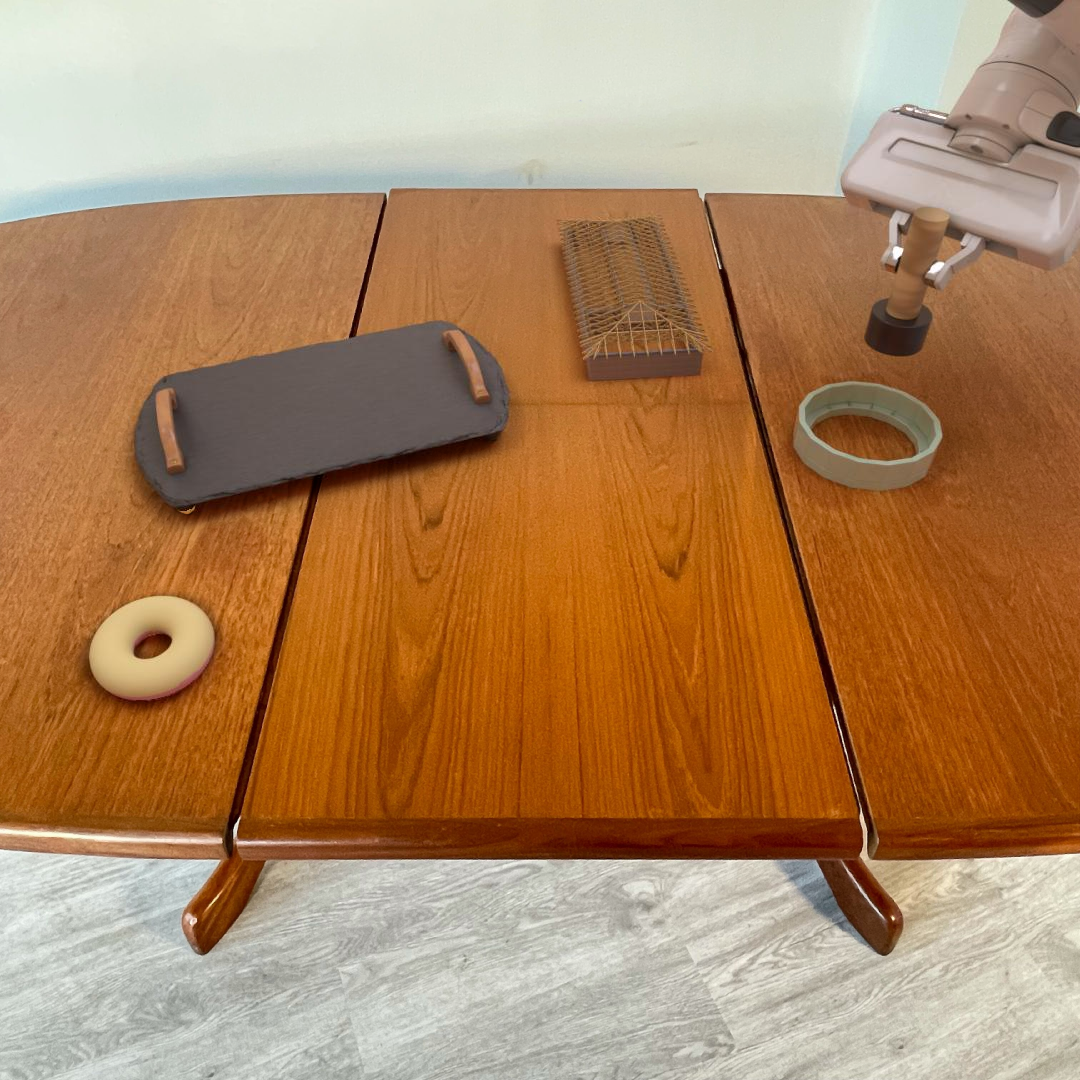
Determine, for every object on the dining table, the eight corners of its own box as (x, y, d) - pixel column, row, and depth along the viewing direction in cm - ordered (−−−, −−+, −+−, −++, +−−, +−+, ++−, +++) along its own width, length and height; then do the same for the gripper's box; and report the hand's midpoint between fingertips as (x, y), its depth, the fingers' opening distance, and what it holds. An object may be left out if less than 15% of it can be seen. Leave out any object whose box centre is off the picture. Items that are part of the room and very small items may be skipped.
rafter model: (709, 378, 99) (716, 330, 95) (582, 385, 98) (583, 337, 94) (658, 238, 124) (661, 195, 120) (556, 243, 123) (556, 200, 119)
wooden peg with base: (920, 329, 82) (961, 202, 73) (926, 359, 78) (970, 230, 70) (862, 324, 83) (896, 198, 74) (865, 353, 79) (901, 225, 71)
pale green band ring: (919, 428, 92) (933, 388, 88) (933, 512, 82) (950, 471, 79) (789, 415, 94) (798, 375, 90) (789, 496, 85) (799, 455, 81)
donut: (197, 618, 78) (84, 657, 73) (186, 575, 75) (68, 612, 71) (236, 679, 71) (114, 727, 66) (226, 634, 68) (98, 680, 64)
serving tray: (146, 536, 82) (123, 486, 78) (138, 401, 98) (118, 353, 93) (535, 442, 91) (534, 393, 87) (471, 332, 107) (467, 286, 102)
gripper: (883, 78, 76) (797, 223, 78) (1130, 139, 66) (1023, 305, 68) (896, 119, 81) (815, 253, 84) (1126, 181, 71) (1027, 333, 73)
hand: (910, 277), depth 75 cm, fingers closed on wooden peg with base, 3 cm apart
